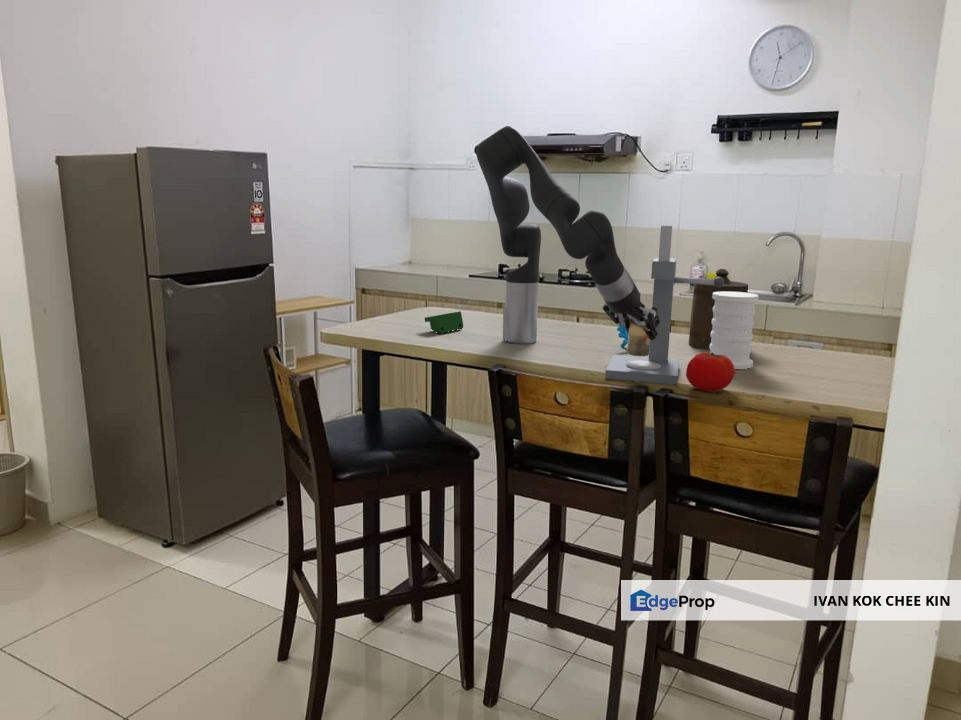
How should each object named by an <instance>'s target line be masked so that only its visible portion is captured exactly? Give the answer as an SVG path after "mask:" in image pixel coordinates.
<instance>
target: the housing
mask: <svg viewBox="0 0 961 720" xmlns="http://www.w3.org/2000/svg"><path fill="white" fill-rule="evenodd" d="M642 316H643V315H642ZM641 318H642V317H641ZM641 318H640V319H641ZM640 319H639V320H640ZM645 324H646V325H647V324H648V322H647V321H646V322H645ZM649 346H650V338H649V336H648V335H647V333H646V331H645V329H644V328H643V327H642V326H638V325H637V324H636V323H635V322H634V321H633V320H630V321H629V334H628V343H627V346H626V347H627V348H626V354H627V355H629V356H632V357H646V356H647V357H649Z"/></svg>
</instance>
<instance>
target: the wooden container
mask: <svg viewBox="0 0 961 720" xmlns="http://www.w3.org/2000/svg"><path fill="white" fill-rule="evenodd" d="M715 275H716V276H715V277H714V278H713V279H715V278H717V277H721V278H723V280H724V284H723V286H721V287H716V286H715V285H706V284H693V294H692V301H691V311H690V318H689V319H690V320H689V334H688V345H689V346H690V347H692V348H696V347H697V349H700V348H701V350H706V349H707V351H710V348H709V346H710V343H711V335H710V334H711V331H712V327H713V325H712V319H713V316H714V313H713V307H714V305H715V300H714V299H713V298H712V295H713V292H723V291H729V292H745V293H749V284H748V283H746V282H740V281H734V280H730V279H729V278H728V276H729V275H730V272H729V270H726V268H719V269H717V270H716V271H715Z"/></svg>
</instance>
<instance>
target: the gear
mask: <svg viewBox="0 0 961 720" xmlns="http://www.w3.org/2000/svg"><path fill="white" fill-rule="evenodd" d="M616 331H618V332H619V333H618V338H620V339H621V338H623V339H624V340H622V343H621V344H620V347H621V348H625V346H626V345H628V334H629V333H628V332H627V330H626V329H625V327H623V326H622V325H621V324H620V323H619V324H618V327H617V328H616Z"/></svg>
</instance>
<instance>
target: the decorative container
mask: <svg viewBox="0 0 961 720" xmlns="http://www.w3.org/2000/svg"><path fill="white" fill-rule="evenodd" d="M712 298H713V299H714V300H715V305H714V307H713V313H714V316H713V319H712V325H713V327H712V331H711V334H710V335H711V343H710V346H709V348H710V350H709V351H710V352H709V353H712V352H713V353H714V354H715V355H723V356H726V357H728V358H729V359H730V360H731V361H732V363H733V365H734V369H745V370H748V369H747V368H750V369H752V368H753V367H754V361H753V360H752V359H751V358H750V356H751V355H750V354H751V352H752V345H751V344H752V340H753V338H754V336H753V335H754V334H753V328H754V326H755V323H754V322H755V321H754V317H755V314H756V308H755V305H756V302H758V301H759V294H756V293H752V292H747V293H745V292H729V291H723V292H713V295H712ZM751 367H752V368H751Z"/></svg>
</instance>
